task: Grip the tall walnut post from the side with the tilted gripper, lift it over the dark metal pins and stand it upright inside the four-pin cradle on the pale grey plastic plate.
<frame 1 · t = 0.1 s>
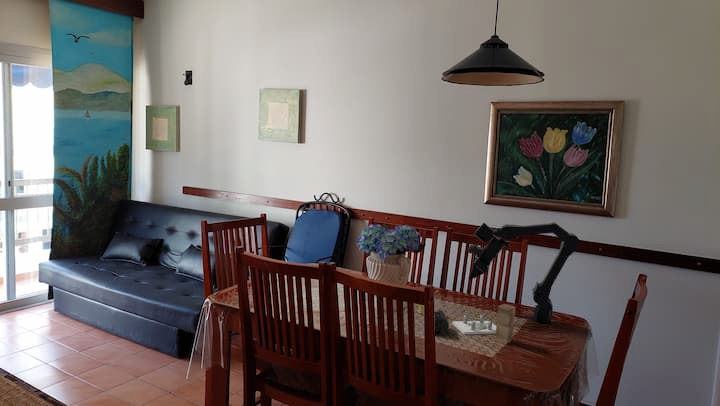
hand: (469, 276, 218), 15 cm above the table, tool tilted 35°, fingers open, 9 cm apart
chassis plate: (477, 328, 197), on the table
walnut post: (503, 340, 186), on the table
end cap: (437, 331, 192), on the table
supplement bottle: (424, 313, 212), on the table
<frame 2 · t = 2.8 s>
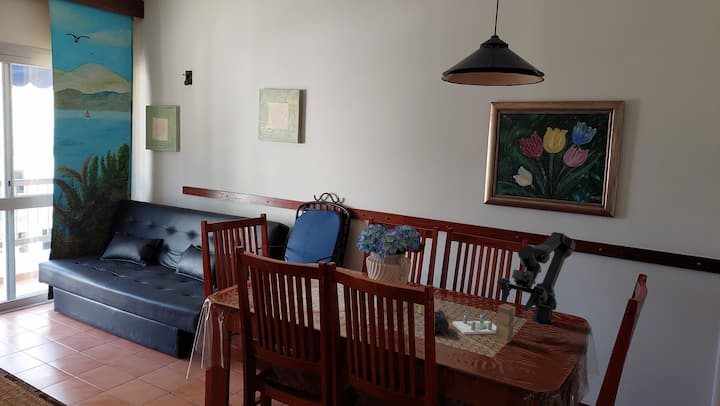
hand: (512, 307, 189), 12 cm above the table, tool tilted 45°, fingers open, 9 cm apart
nothing on the table moved.
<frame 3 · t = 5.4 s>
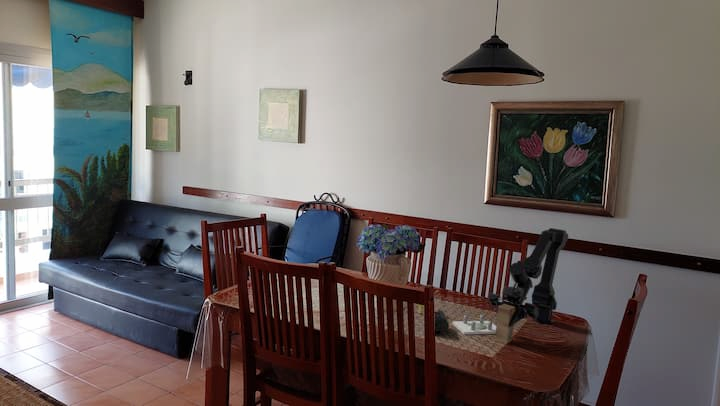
hand: (503, 324, 185), 7 cm above the table, tool tilted 45°, fingers closed on walnut post, 4 cm apart
walnut post: (503, 340, 186), on the table, touching gripper
everything else where it was.
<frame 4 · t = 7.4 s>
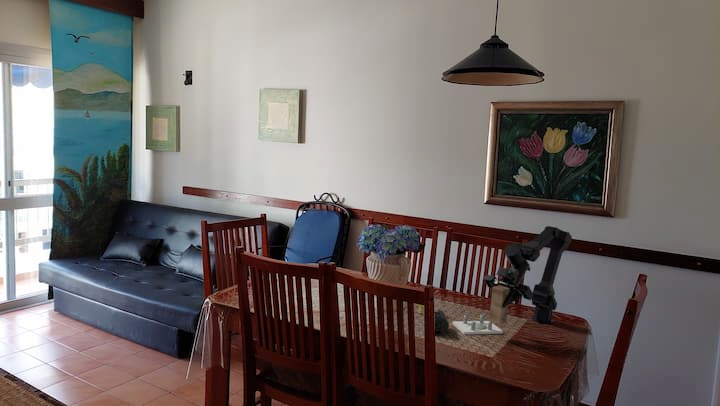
hand: (497, 304, 186), 13 cm above the table, tool tilted 45°, fingers closed on walnut post, 4 cm apart
walnut post: (497, 321, 188), point 6 cm above the table, touching gripper
everything else where it was.
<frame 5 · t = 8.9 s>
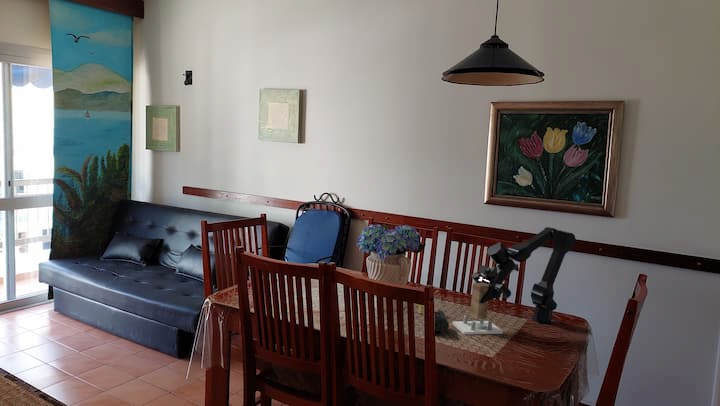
hand: (476, 300, 195), 11 cm above the table, tool tilted 45°, fingers closed on walnut post, 4 cm apart
walnut post: (478, 316, 196), point 5 cm above the table, touching gripper
everything else where it was.
when the fingers open (9 cm above the table, at t = 9.7 s): walnut post drops 1 cm, resting on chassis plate.
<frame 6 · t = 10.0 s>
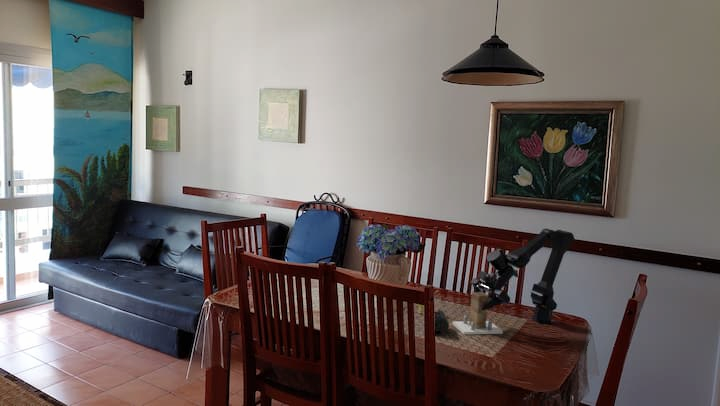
hand: (476, 306, 195), 9 cm above the table, tool tilted 45°, fingers open, 7 cm apart
walnut post: (477, 326, 197), point 1 cm above the table, touching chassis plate
everything else where it was.
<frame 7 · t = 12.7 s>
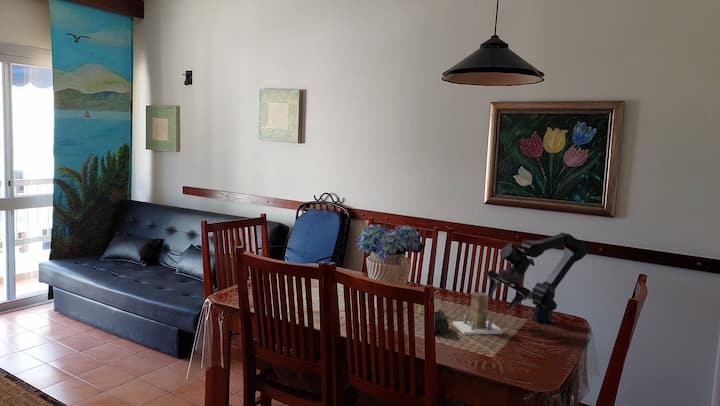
hand: (498, 302, 200), 10 cm above the table, tool tilted 30°, fingers open, 9 cm apart
nothing on the table moved.
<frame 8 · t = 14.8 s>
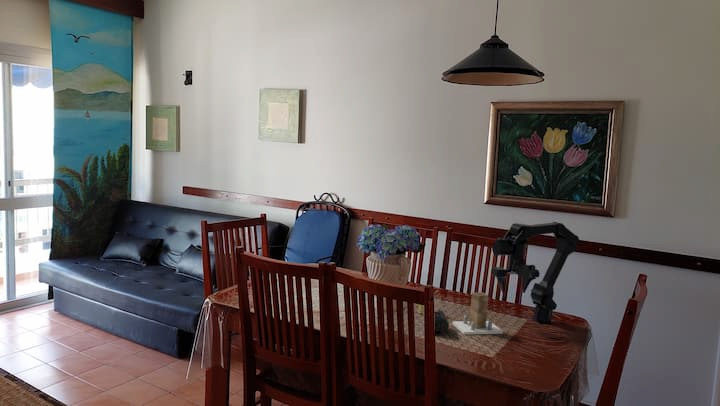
hand: (513, 292, 204), 13 cm above the table, tool pointing down, fingers open, 9 cm apart
nothing on the table moved.
at the end: walnut post 0.0 cm off-centre on the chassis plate, point 1.0 cm above the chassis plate's base; walnut post tilted 0°; the gripper is holding nothing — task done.
